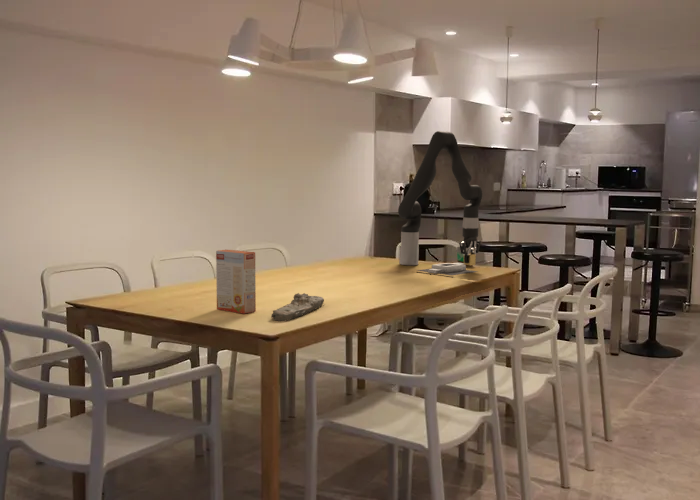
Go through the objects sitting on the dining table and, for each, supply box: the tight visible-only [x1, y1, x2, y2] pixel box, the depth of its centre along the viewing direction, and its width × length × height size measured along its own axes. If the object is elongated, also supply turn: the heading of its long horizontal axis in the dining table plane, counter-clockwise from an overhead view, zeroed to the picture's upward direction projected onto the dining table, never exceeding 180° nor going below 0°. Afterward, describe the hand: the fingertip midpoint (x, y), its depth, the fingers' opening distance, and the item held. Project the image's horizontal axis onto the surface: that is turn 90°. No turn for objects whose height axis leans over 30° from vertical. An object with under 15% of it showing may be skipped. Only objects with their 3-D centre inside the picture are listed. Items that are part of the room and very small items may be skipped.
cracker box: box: [215, 249, 257, 315], centre depth 250 cm, size 14×6×21 cm, turn 51°
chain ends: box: [427, 262, 467, 275], centre depth 350 cm, size 9×22×3 cm, turn 133°
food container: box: [455, 246, 474, 267], centre depth 373 cm, size 12×6×10 cm, turn 25°
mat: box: [415, 267, 479, 278], centre depth 350 cm, size 22×20×1 cm
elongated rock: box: [271, 292, 325, 322], centre depth 250 cm, size 35×5×10 cm
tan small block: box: [464, 253, 477, 266], centre depth 348 cm, size 4×4×5 cm
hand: (469, 262), depth 348 cm, fingers closed on tan small block, 4 cm apart
